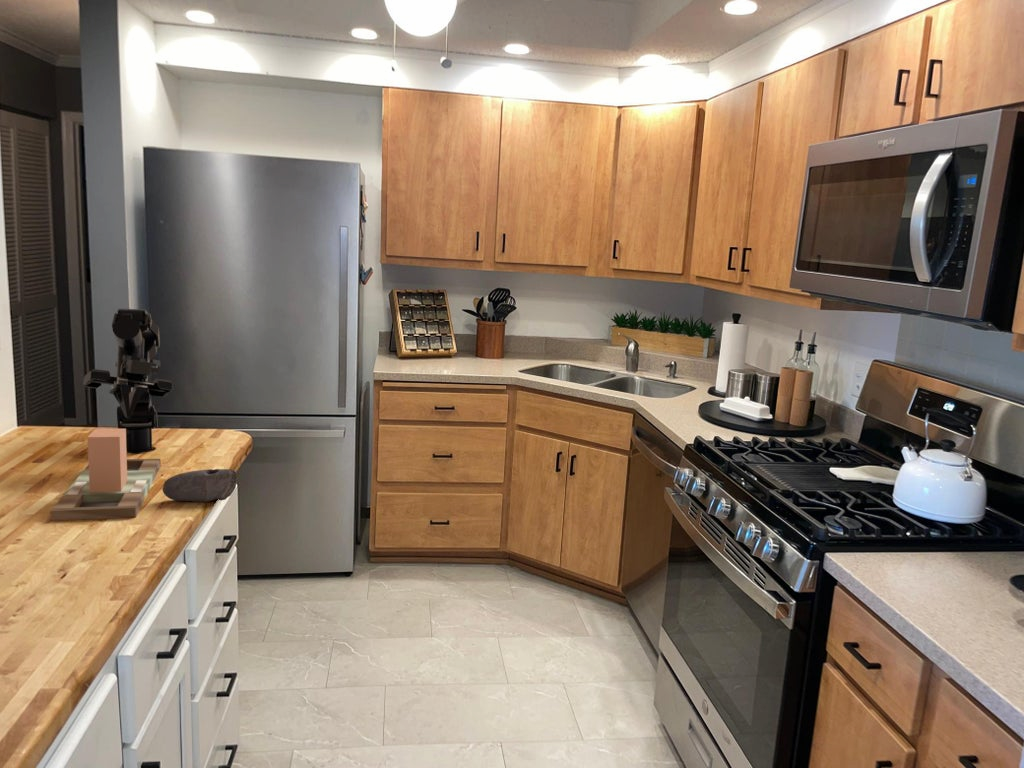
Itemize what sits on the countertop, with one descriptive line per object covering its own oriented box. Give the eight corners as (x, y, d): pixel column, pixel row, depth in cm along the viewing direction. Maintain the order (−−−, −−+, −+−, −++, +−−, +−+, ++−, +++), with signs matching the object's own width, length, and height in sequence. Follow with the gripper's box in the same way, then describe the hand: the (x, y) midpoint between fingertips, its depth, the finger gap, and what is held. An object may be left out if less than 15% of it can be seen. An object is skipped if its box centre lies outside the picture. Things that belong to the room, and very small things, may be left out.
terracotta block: (97, 481, 165) (95, 428, 163) (127, 480, 167) (125, 428, 165) (89, 492, 159) (87, 437, 157) (121, 491, 161) (119, 436, 159)
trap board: (92, 467, 181) (92, 459, 180) (160, 466, 185) (160, 457, 185) (51, 520, 148) (50, 510, 147) (135, 517, 152) (135, 506, 152)
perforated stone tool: (160, 505, 160) (159, 474, 159) (165, 497, 165) (164, 466, 164) (235, 504, 164) (235, 473, 162) (237, 496, 169) (237, 466, 167)
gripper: (101, 337, 172) (97, 401, 167) (183, 352, 185) (182, 412, 180) (84, 354, 179) (80, 416, 174) (164, 367, 192) (163, 425, 187)
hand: (128, 417), depth 178 cm, fingers closed
